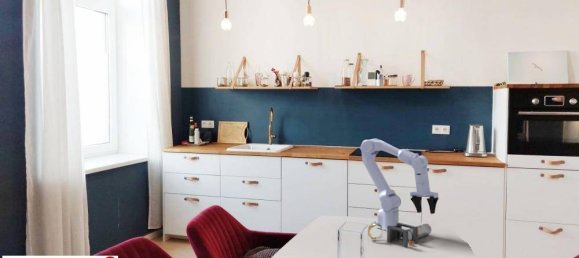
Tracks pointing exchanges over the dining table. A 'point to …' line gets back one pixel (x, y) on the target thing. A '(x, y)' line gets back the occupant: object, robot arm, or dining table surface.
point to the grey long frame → (419, 231)
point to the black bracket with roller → (396, 231)
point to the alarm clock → (372, 227)
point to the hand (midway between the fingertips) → (426, 212)
